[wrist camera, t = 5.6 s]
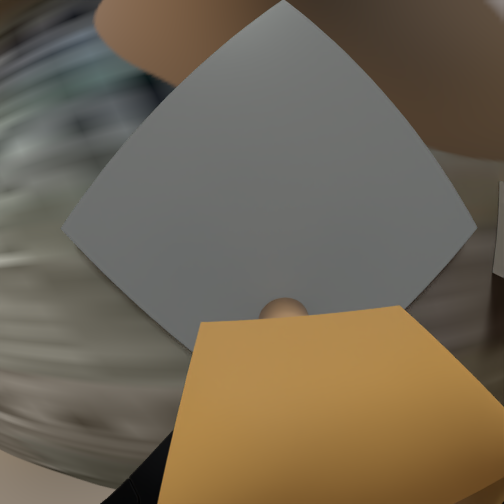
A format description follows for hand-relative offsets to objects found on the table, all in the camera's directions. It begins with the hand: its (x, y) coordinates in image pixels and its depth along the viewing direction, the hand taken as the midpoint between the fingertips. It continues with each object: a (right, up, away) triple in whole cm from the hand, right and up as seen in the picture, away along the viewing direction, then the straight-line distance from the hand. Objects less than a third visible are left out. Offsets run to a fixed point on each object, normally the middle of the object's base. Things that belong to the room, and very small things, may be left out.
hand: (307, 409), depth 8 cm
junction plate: (0, +6, +6) cm, 8 cm away
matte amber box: (0, 0, +1) cm, 1 cm away
